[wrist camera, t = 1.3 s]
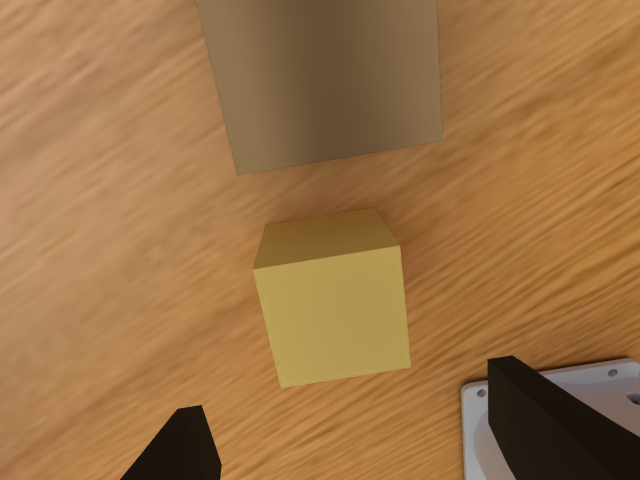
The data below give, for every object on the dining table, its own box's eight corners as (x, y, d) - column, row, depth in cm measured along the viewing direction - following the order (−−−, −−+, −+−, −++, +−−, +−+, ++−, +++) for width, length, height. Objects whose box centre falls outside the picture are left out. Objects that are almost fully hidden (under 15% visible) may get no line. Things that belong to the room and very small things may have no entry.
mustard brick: (373, 206, 18) (400, 245, 13) (384, 302, 19) (411, 367, 15) (265, 224, 18) (252, 269, 13) (286, 318, 19) (280, 388, 15)
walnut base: (397, -62, 14) (430, -120, 10) (411, 132, 17) (442, 140, 13) (210, -29, 14) (178, -76, 11) (251, 158, 17) (237, 175, 13)
